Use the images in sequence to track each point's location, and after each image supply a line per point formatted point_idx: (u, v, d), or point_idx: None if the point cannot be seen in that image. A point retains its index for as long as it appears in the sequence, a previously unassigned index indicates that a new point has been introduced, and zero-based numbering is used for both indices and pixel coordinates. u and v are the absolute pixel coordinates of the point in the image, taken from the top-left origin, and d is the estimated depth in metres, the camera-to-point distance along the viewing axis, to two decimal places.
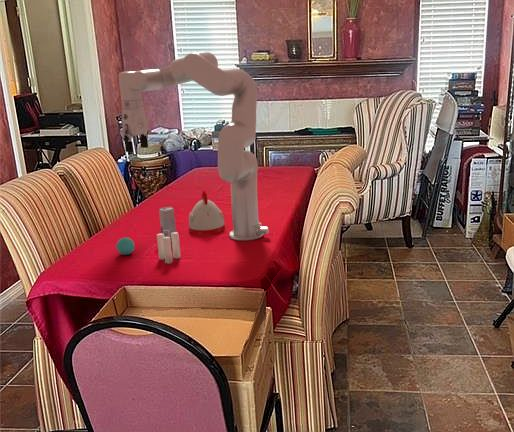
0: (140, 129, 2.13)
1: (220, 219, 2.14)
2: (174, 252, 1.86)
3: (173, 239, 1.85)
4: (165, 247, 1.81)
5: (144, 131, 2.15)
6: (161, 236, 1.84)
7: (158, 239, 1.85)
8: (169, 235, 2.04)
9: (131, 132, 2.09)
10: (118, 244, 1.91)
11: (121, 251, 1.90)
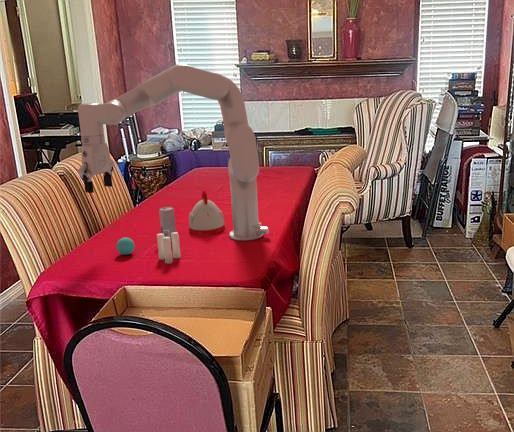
0: (102, 167, 1.90)
1: (220, 219, 2.14)
2: (174, 252, 1.86)
3: (173, 239, 1.85)
4: (165, 247, 1.81)
5: (107, 169, 1.92)
6: (161, 236, 1.84)
7: (158, 239, 1.85)
8: (169, 235, 2.04)
9: (91, 171, 1.86)
10: (118, 244, 1.91)
11: (121, 251, 1.90)
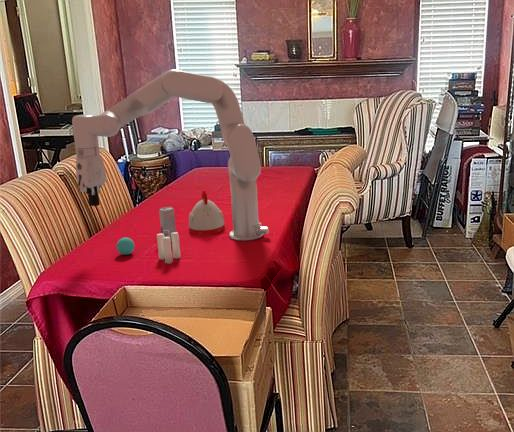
0: (97, 180, 1.87)
1: (220, 219, 2.14)
2: (174, 252, 1.86)
3: (173, 239, 1.85)
4: (165, 247, 1.81)
5: (102, 181, 1.90)
6: (161, 236, 1.84)
7: (158, 239, 1.85)
8: (169, 235, 2.04)
9: (86, 184, 1.84)
10: (118, 244, 1.91)
11: (121, 251, 1.90)
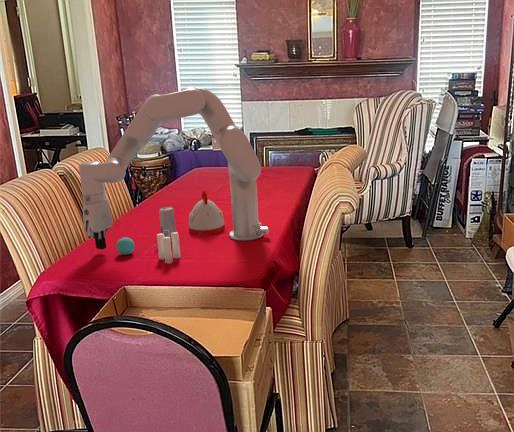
0: (103, 224, 1.92)
1: (220, 219, 2.14)
2: (174, 252, 1.86)
3: (173, 239, 1.85)
4: (165, 247, 1.81)
5: (108, 225, 1.94)
6: (161, 236, 1.84)
7: (158, 239, 1.85)
8: (169, 235, 2.04)
9: (93, 229, 1.88)
10: (118, 244, 1.91)
11: (121, 251, 1.90)
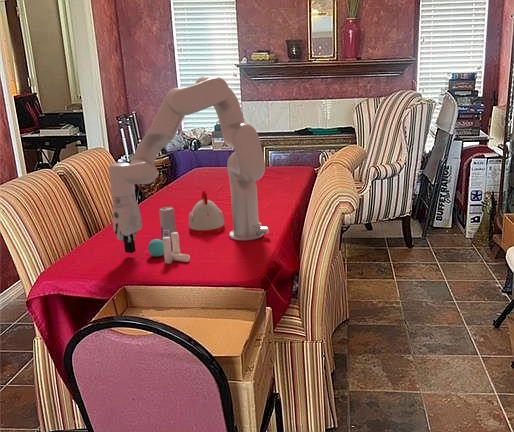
0: (133, 227, 1.87)
1: (220, 219, 2.14)
2: (174, 252, 1.86)
3: (173, 239, 1.85)
4: (165, 247, 1.81)
5: (138, 228, 1.89)
6: (186, 261, 1.83)
7: (182, 258, 1.83)
8: (169, 235, 2.04)
9: (123, 232, 1.83)
10: (152, 252, 1.87)
11: (153, 245, 1.86)
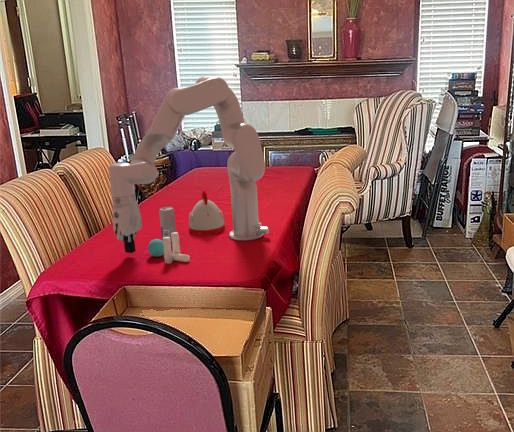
0: (133, 227, 1.87)
1: (220, 219, 2.14)
2: (174, 252, 1.86)
3: (173, 239, 1.85)
4: (165, 247, 1.81)
5: (138, 228, 1.89)
6: (185, 261, 1.83)
7: (182, 258, 1.83)
8: (169, 235, 2.04)
9: (123, 232, 1.83)
10: (152, 252, 1.87)
11: (153, 245, 1.86)
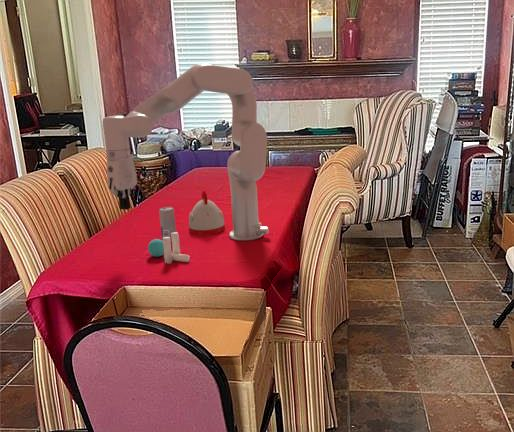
0: (128, 182, 1.82)
1: (220, 219, 2.14)
2: (174, 252, 1.86)
3: (173, 239, 1.85)
4: (165, 247, 1.81)
5: (133, 184, 1.85)
6: (185, 261, 1.83)
7: (182, 259, 1.83)
8: (169, 235, 2.04)
9: (117, 187, 1.79)
10: (152, 252, 1.87)
11: (153, 245, 1.86)
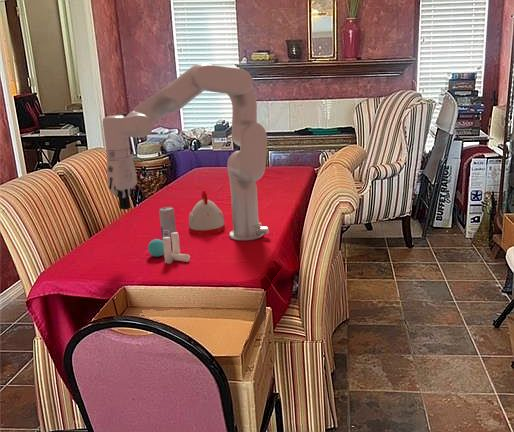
0: (128, 182, 1.82)
1: (220, 219, 2.14)
2: (174, 252, 1.86)
3: (173, 239, 1.85)
4: (165, 247, 1.81)
5: (133, 184, 1.85)
6: (186, 261, 1.83)
7: (182, 258, 1.83)
8: (169, 235, 2.04)
9: (117, 187, 1.79)
10: (152, 252, 1.87)
11: (153, 245, 1.86)
